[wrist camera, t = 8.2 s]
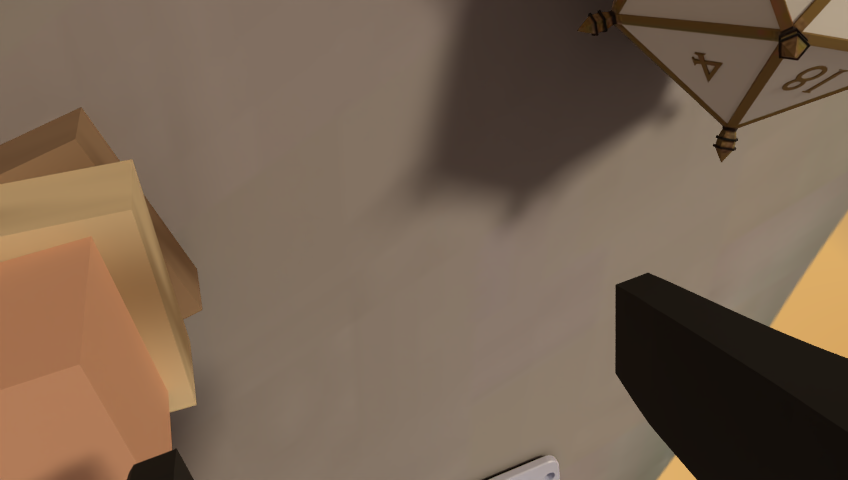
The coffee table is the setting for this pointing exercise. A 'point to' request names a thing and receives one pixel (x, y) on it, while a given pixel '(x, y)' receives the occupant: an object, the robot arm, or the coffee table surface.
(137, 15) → the coffee table surface
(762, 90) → the game die
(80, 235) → the oak slab
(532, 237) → the coffee table surface
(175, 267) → the walnut slab
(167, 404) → the terracotta block
